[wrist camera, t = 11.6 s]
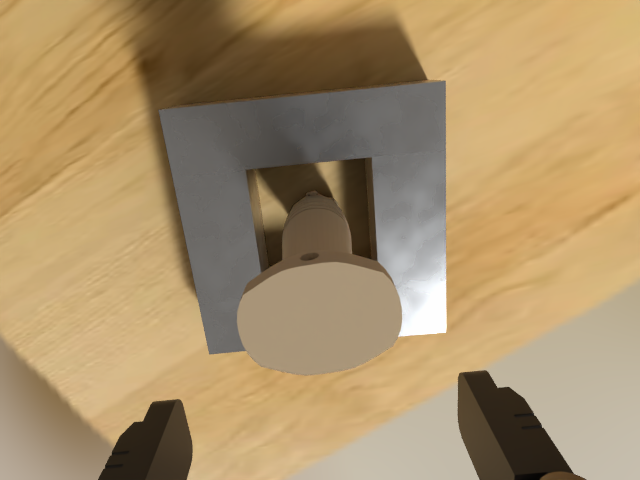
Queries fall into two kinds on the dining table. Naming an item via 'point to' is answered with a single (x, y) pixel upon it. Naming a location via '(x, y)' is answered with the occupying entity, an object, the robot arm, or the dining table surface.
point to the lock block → (302, 148)
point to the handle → (318, 298)
